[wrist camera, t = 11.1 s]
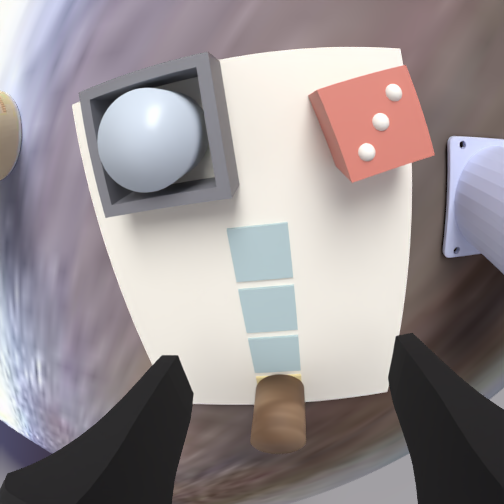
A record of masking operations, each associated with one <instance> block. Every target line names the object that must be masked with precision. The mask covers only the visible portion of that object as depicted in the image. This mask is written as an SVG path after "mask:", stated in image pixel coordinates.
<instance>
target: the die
mask: <svg viewBox="0 0 504 504" xmlns="http://www.w3.org/2000/svg"><path fill="white" fill-rule="evenodd" d="M308 97H309V99H310V102H311V104H312V107H313V109H314V111H315V114H316V116H317V119H318V121H319V124H320V126H321V129H322V131H323V134H324V136H325V139H326V141H327V144H328V147H329V149H330V152H331V155H332V157H333V160H334V163H335V166H336V167H337V168H338V169H339V170H340V171H341V172H342V173H343V174H344V175H345V176H346V177H347V178H348V179H349V180H350V181H351V182H352V183H353V182H356V181H359V180H362V179H365V178H368V177H371V176H374V175H376V174H379V173H382V172H385V171H388V170H391V169H394V168H397V167H400V166H403V165H406V164H409V163H412V162H415V161H418V160H421V159H424V158H427V157H430V156H434V155H435V154H434V150H433V147H432V143H431V139H430V135H429V132H428V128H427V125H426V122H425V118H424V115H423V112H422V109H421V106H420V103H419V100H418V97H417V94H416V91H415V88H414V85H413V83H412V80H411V77H410V75H409V72H408V70H407V67H406V65H403V66H398V67H394V68H390V69H386V70H382V71H378V72H374V73H371V74H367V75H363V76H360V77H356V78H353V79H349V80H346V81H343V82H339V83H336V84H333V85H330V86H327V87H324V88H321V89H318V90H316V91H314V92H313V93H311V94H310V95H308Z"/></svg>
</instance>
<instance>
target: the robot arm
mask: <svg viewBox="0 0 504 504" xmlns="http://www.w3.org/2000/svg"><path fill="white" fill-rule="evenodd" d="M461 141H462V142H463V146H462V148H460V142H461ZM447 152H448V178H447V205H446V220H445V232H444V242H443V254H444V255H445V256H446V257H447V258H452V257H460V256H467V255H475V254H483V255H484V256H485V257H486V258H487V259H488V260H489V261H490V262H491V263H492V264H493V265H494V266H496V267H497V268H498V269H499V270H500V271H501V272H502V273H503V274H504V139H493V138H480V137H464V136H451V137H450V138H449V139H448V142H447ZM456 247H457V250H456V251H454V249H455V248H456ZM388 381H389V386H390V391H391V395H392V400H393V404H394V407H395V410H396V413H397V416H398V419H399V422H400V425H401V428H402V431H403V434H404V437H405V440H406V443H407V446H408V449H409V452H410V456H411V460H412V464H413V470H414V476H415V482H416V489H417V499H418V504H504V409H502V408H500V407H499V406H497V405H496V404H494V403H493V402H491V401H490V400H489V399H487V398H486V397H484V396H483V395H482V394H480V393H479V392H478V391H476V390H475V389H474V388H473V387H471V386H470V385H469V384H468V383H466V382H465V381H464V380H463V379H462V378H460V377H459V376H458V375H457V374H456V373H455V372H454V371H452V370H451V369H450V368H449V367H448V366H447V365H446V364H445V363H444V362H443V361H442V360H440V359H439V358H438V357H437V356H436V355H435V354H434V353H433V352H432V351H431V350H430V349H429V348H428V347H427V346H426V345H425V344H424V343H423V342H422V341H420V340H419V339H418V338H417V337H416V336H415V335H414V334H413V333H410V334H404V335H399V336H396V337H395V343H394V349H393V354H392V360H391V365H390V370H389V374H388ZM193 396H194V393H193V391H192V388H191V386H190V384H189V381H188V379H187V376H186V374H185V372H184V369H183V367H182V364H181V362H180V359H179V356H178V355H161V357H160V358H159V359H158V360H157V361H156V362H155V363H154V364H153V365H152V366H151V368H150V369H149V370H148V371H147V372H146V373H145V374H144V375H143V377H142V378H141V379H140V380H139V381H138V382H137V383H136V384H135V385H134V386H133V387H132V389H131V390H130V391H129V392H128V393H127V394H126V395H125V396H124V397H123V398H122V399H121V400H120V401H119V402H118V403H117V404H116V405H115V406H114V407H113V408H112V409H111V410H110V411H109V412H108V413H107V414H106V415H105V416H104V417H103V418H102V419H100V420H99V421H98V422H97V423H96V424H95V425H93V426H92V427H91V428H90V429H88V430H87V431H86V432H85V433H83V434H82V435H81V436H79V437H78V438H77V439H75V440H74V441H72V442H71V443H69V444H68V445H66V446H65V447H63V448H61V449H60V450H58V451H57V452H55V453H53V454H51V455H50V456H48V457H46V458H44V459H42V460H40V461H38V462H36V463H34V464H32V465H29V466H27V467H24V468H21V469H19V470H16V471H14V472H11V473H8V474H7V476H6V478H5V480H4V482H3V484H2V487H1V488H0V504H172V496H173V488H174V481H175V476H176V471H177V467H178V464H179V460H180V456H181V452H182V449H183V445H184V442H185V438H186V434H187V430H188V427H189V423H190V419H191V412H192V404H193Z"/></svg>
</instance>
